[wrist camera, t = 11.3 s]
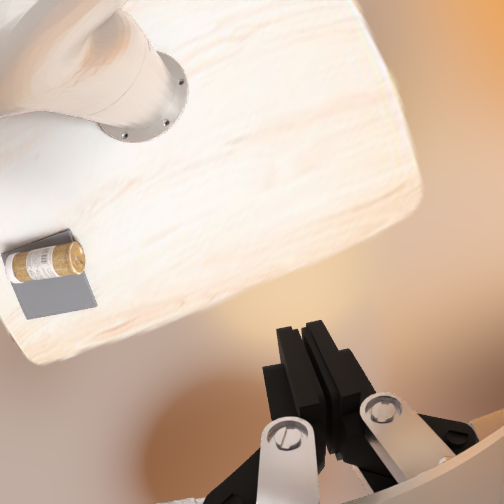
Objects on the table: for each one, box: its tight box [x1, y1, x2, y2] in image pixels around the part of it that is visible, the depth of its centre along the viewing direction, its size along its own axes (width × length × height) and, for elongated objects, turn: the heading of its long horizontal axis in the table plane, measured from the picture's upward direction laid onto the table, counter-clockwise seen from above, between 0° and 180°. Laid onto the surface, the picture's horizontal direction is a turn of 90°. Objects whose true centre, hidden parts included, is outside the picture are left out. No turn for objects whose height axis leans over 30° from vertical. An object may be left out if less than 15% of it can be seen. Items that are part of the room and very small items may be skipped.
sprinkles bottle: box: [5, 241, 85, 283], centre depth 35 cm, size 5×5×13 cm
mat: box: [1, 230, 97, 320], centre depth 38 cm, size 16×12×1 cm
